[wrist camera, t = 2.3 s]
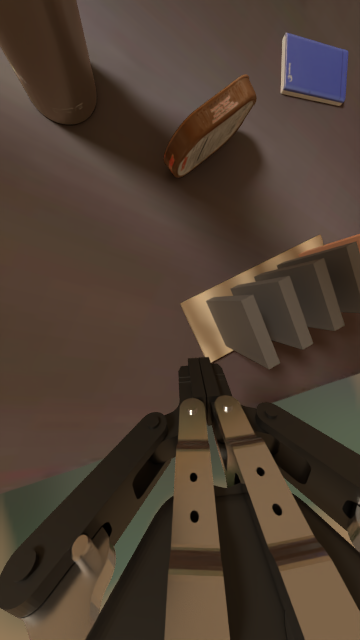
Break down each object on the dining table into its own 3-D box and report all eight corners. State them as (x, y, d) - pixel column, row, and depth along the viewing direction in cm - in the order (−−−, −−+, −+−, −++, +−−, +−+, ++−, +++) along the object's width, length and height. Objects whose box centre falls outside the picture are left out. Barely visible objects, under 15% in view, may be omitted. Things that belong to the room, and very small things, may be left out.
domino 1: (225, 345, 34) (269, 369, 22) (205, 301, 32) (241, 300, 20) (233, 341, 34) (280, 363, 22) (213, 297, 32) (253, 294, 21)
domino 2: (248, 333, 34) (302, 349, 23) (230, 288, 33) (278, 281, 21) (255, 329, 34) (313, 343, 23) (237, 284, 33) (289, 275, 21)
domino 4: (313, 298, 36) (393, 296, 24) (298, 254, 35) (377, 230, 23) (319, 294, 36) (403, 291, 25) (305, 250, 35) (387, 225, 23)
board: (207, 362, 34) (209, 363, 33) (179, 303, 32) (180, 303, 31) (334, 292, 38) (338, 292, 37) (316, 236, 36) (320, 234, 35)
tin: (228, 120, 31) (259, 53, 22) (239, 138, 31) (273, 79, 23) (159, 173, 30) (165, 124, 21) (172, 191, 30) (182, 150, 22)
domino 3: (270, 321, 35) (334, 331, 23) (253, 276, 33) (313, 263, 22) (277, 317, 35) (344, 325, 23) (261, 273, 34) (323, 257, 22)
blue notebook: (285, 86, 31) (345, 100, 33) (287, 30, 30) (348, 48, 32) (278, 97, 32) (336, 109, 35) (280, 43, 32) (339, 59, 34)
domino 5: (292, 309, 35) (365, 313, 24) (276, 265, 34) (346, 246, 22) (299, 305, 36) (374, 307, 24) (283, 261, 34) (356, 241, 22)
